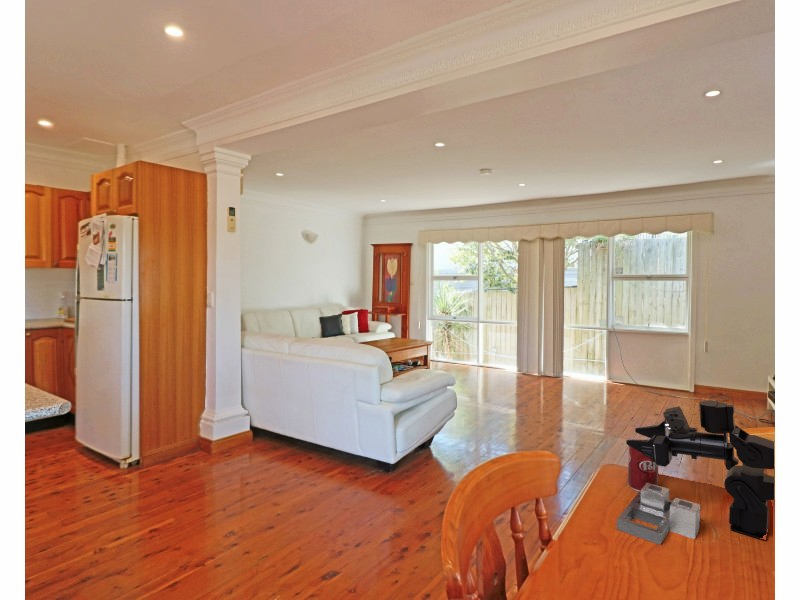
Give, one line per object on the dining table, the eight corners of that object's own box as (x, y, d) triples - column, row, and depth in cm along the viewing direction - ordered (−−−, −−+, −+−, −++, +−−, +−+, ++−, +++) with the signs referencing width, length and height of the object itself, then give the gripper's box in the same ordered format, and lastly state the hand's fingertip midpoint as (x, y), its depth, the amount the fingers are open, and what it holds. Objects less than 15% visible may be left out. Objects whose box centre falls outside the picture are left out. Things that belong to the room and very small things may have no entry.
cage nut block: (699, 530, 106) (700, 503, 105) (694, 539, 102) (695, 511, 101) (674, 522, 109) (675, 496, 108) (669, 531, 105) (670, 504, 105)
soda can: (621, 484, 128) (622, 442, 127) (639, 479, 131) (640, 438, 130) (645, 496, 121) (646, 451, 120) (663, 490, 124) (665, 447, 123)
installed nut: (668, 512, 113) (669, 487, 112) (663, 521, 109) (664, 495, 109) (645, 505, 116) (646, 481, 116) (640, 513, 113) (640, 488, 112)
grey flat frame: (679, 512, 113) (680, 502, 113) (660, 545, 100) (660, 533, 100) (639, 500, 119) (640, 490, 119) (616, 529, 106) (616, 518, 106)
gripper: (704, 400, 117) (636, 395, 127) (693, 424, 103) (618, 416, 113) (707, 443, 118) (640, 435, 128) (697, 472, 103) (622, 461, 113)
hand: (631, 435), depth 120 cm, fingers open, 9 cm apart
